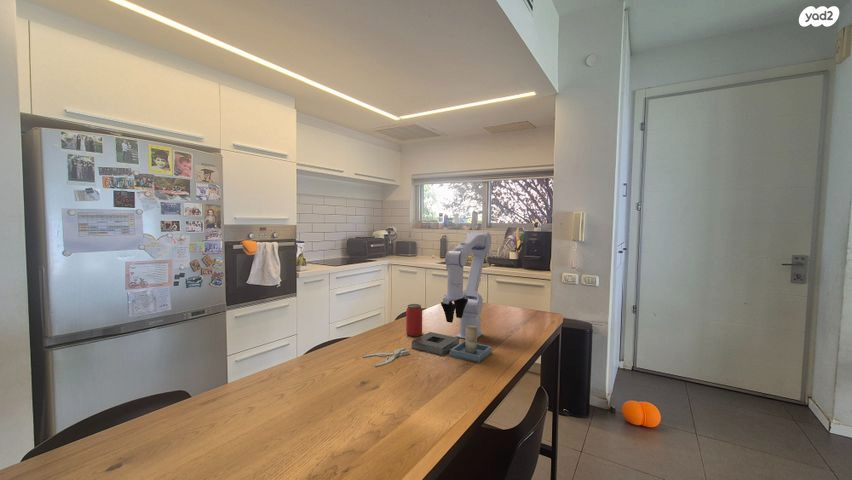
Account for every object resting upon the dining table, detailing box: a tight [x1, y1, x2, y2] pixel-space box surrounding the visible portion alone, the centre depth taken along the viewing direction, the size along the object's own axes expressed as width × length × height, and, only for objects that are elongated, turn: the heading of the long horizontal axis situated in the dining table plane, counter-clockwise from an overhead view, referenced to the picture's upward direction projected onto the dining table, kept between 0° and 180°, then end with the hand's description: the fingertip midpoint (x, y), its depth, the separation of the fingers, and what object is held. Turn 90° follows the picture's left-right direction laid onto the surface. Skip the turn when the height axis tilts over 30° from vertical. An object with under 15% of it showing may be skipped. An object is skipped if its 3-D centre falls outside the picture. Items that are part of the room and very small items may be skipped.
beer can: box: [405, 303, 423, 337], centre depth 142 cm, size 7×7×12 cm
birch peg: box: [464, 326, 478, 354], centre depth 121 cm, size 4×4×9 cm
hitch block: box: [411, 331, 460, 356], centre depth 129 cm, size 13×13×2 cm
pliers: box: [362, 347, 410, 368], centre depth 119 cm, size 10×2×15 cm
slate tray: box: [449, 340, 493, 364], centre depth 121 cm, size 11×11×2 cm
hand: (454, 319), depth 127 cm, fingers open, 7 cm apart
